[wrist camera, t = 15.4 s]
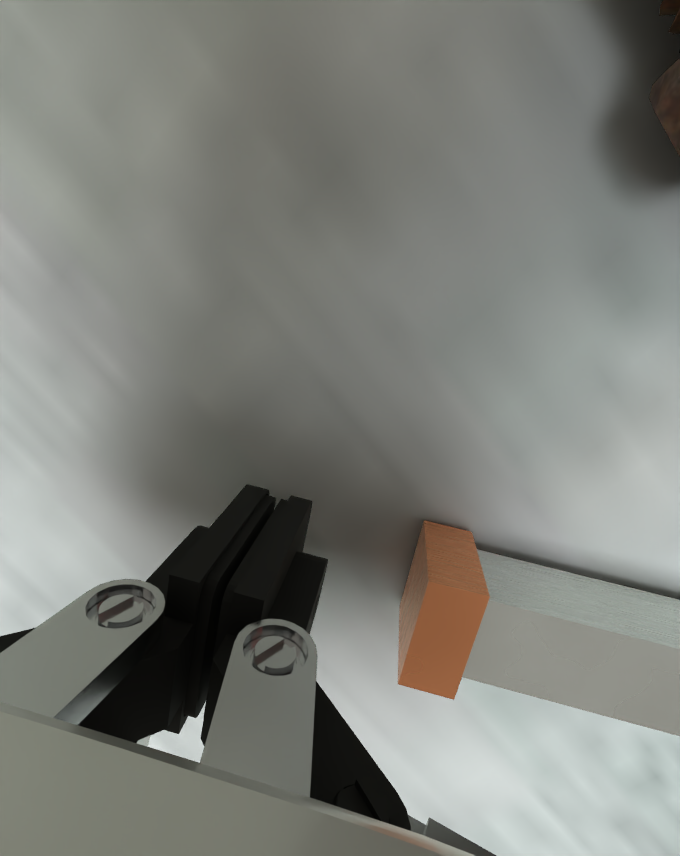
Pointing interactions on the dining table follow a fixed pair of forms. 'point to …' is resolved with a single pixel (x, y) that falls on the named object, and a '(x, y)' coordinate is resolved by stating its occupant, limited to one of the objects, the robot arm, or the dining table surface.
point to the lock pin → (537, 633)
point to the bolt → (669, 84)
